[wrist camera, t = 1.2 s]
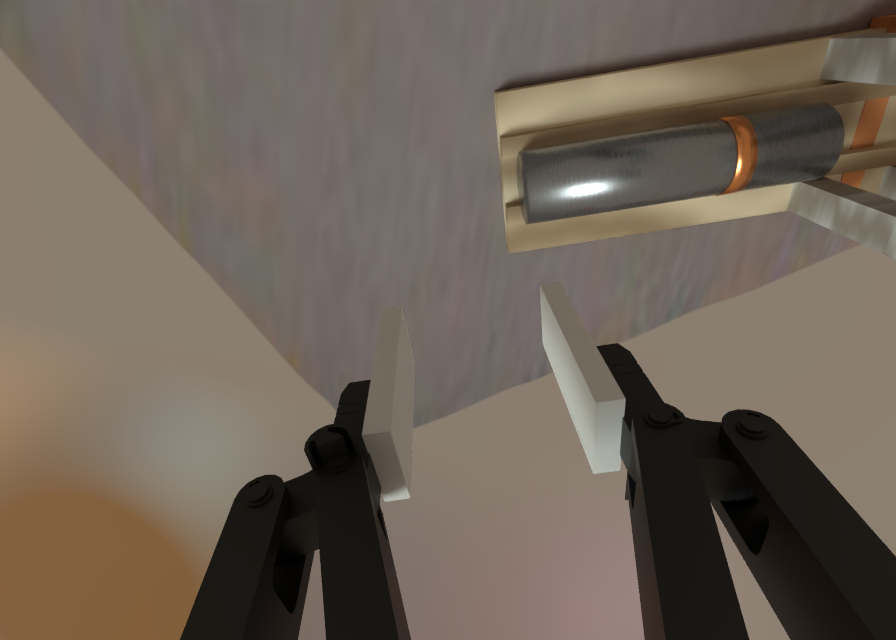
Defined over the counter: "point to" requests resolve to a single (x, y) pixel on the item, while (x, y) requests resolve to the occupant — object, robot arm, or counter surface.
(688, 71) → the rail
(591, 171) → the tube
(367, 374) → the counter surface
